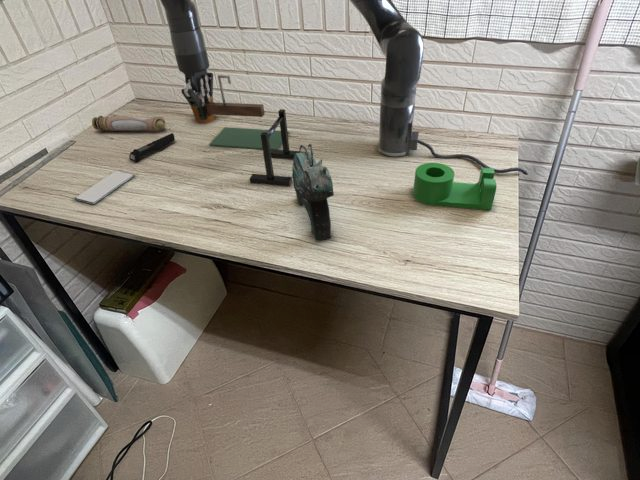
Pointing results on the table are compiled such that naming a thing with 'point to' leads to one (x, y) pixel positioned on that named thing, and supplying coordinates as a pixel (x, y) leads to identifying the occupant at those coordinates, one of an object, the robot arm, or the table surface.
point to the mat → (245, 138)
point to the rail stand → (275, 154)
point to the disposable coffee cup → (195, 112)
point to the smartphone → (104, 187)
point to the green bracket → (453, 188)
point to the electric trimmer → (151, 147)
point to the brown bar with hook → (233, 106)
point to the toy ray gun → (313, 191)
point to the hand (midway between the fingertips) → (206, 117)
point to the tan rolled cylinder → (128, 123)
